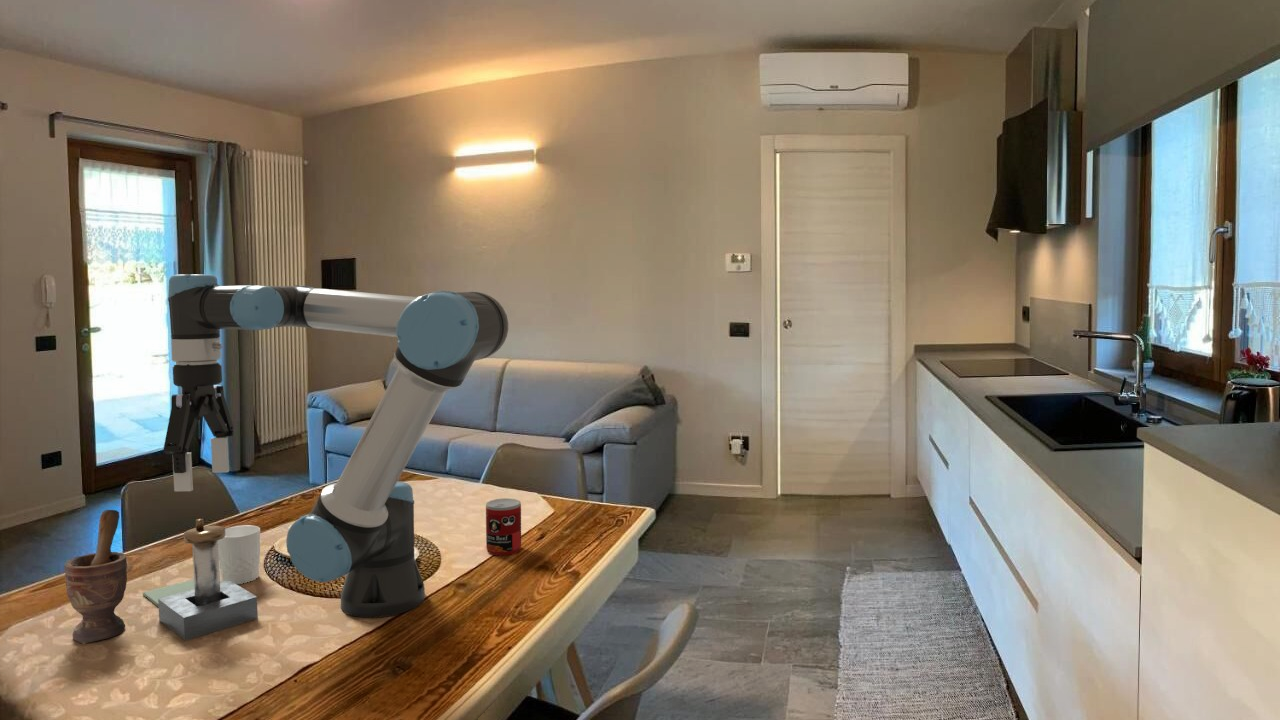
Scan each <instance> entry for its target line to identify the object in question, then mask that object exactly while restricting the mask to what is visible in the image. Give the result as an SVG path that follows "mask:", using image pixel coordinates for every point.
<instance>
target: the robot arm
mask: <svg viewBox="0 0 1280 720" xmlns="http://www.w3.org/2000/svg"><path fill="white" fill-rule="evenodd" d="M168 280H169V281H168V293H167V294H168V296H167V302H168V309H169V311H168V312H169V321H170V323H169V324H170V345H171V346H170V348H171V361H172V362H175V364H173V366H172V381H173V382H172V383H173V385H174V386H176V387H181V388H182V392H181V394H176V393H175V394H172V395H171V398H170V399H171V403H170V405H171V406H170V407H171V409H170V414H169V419H168V423H167V428H166V430H167V431H166V434H165V438H164V445H163V451H164V453H165V455H172V473H173V491H174V492H192V491H194V483H193V480H194V478H193V461H192V451H191V452H189V449H190V446H191V443H192V440H193V436H194V434H195V431H196V427H197V424H198V421H200V420H201V419H202V418H203V419H204V421H205V423H206V425H207V427H208V428H209V430H210V432H211V434H212V436H213V437H211V438H210V450H211V452H210V453H211V469H212V473H216V474H218V473H222V474H223V473H230V463H229V462H230V461H229V459H230V458H229V437H234V425H233V421H232V417H231V415H230V411H229V408H228V405H227V401H226V398H225V390H224V385H222V384H221V383H222V382H223V370H222V364H221V362H218V361H219V360H221V356H222V354H221V349H222V348H223V344H222V343H221V330H248V331H252V332H253V331H254V332H255V331H264V330H270V329H271V330H272V329H273V328H280V327H281V328H285V327H296V328H306V329H318V330H328V331H336V332H337V331H339V332H346V333H356V334H366V335H375V336H384V337H393V338H397V339H398V340H397V348H396V349H395V351H394V359H395V362H396V364H397V369H396V370H395V372H394V374H393V376H392V378H391V380H390V382H389V383H388V386H387V388H386V389H385V391H384V393H383V395H382V397H381V399H380V400H379V402H378V405H377V407H376V408H375V410H374V411H373V414H372V416H371V418H370V420H369V421H368V424H367V425H366V427H365V429H364V431H363V433H362V435H361V437H360V438H359V440H358V443H357V445H356V446H355V449H353V452H352V453H351V456H350V457H349V459H348V461H347V463H346V465H345V466H344V469H343V471H342V472H341V473H340V474H341V475H340V476H339V478H338V480H337V482H334V483H331V484H328V485H326V486H325V487H324V488H323V489H322V490H321V491H320V494H319V496H318V498H317V499H316V501H315V503H314V505H313V507H312V509H311V510H310V512H309V513H308V514H305V515H302V516H300V517H299V518H298V519H296V521H294V522H293V523H292V524H291V526H290V527H289V529H288V531H287V535H286V550H287V553H288V555H289V558H290V561H291V563H292V564H293V566H294V567H295V569H296V570H297V571H298V572H299V573H301V574H302V576H304V577H306V578H307V579H309V580H311V581H313V582H314V581H315V582H318V583H328V582H332V581H334V580H337V579H340V578H343V577H344V576H345V580H344V582H343V586H342V589H341V592H340V608H341V610H342V611H343V612H344V613H345V614H347V615H349V616H353V617H360V618H385V617H389V616H394V615H395V616H396V615H399V614H403V613H406V612H409V611H411V610H413V609H415V608H417V607H419V606H420V605H421V604H422V603H423V602H424V600H425V597H426V596H425V593H426V592H425V591H426V590H425V588H426V587H425V583H424V581H423V577H422V575H421V573H420V570H419V567H418V565H417V562H416V559H415V509H414V507H415V506H414V505H415V500H414V493H413V487H412V486H411V484H409V483H407V482H405V481H399V479H400V477H401V475H402V474H403V472H404V470H405V468H406V466H407V464H408V463H409V461H410V460H411V457H412V455H413V453H414V451H415V450H416V447H417V446H418V444H419V442H420V441H421V439H422V437H423V436H424V434H425V431H426V430H427V428H428V426H429V424H430V422H431V420H432V419H433V417H434V415H435V413H436V411H437V410H438V408H439V406H440V404H441V402H442V400H443V399H444V397H445V395H446V393H447V391H451V390H455V389H458V388H460V387H461V385H463V382H464V381H465V379H466V377H467V375H468V373H469V371H470V370H471V368H472V366H473V364H474V362H475V361H479V360H483V359H487V358H489V357H491V356H492V355H494V354H496V353H497V352H498V351H499V350H500V349H501V348H502V346H503V345H504V343H505V341H506V339H507V336H508V333H509V320H508V319H509V318H508V315H507V312H506V311H505V309H504V307H503V306H502V305H501V304H500V302H499V301H498V300H497V299H495V298H494V297H492V296H491V295H488V294H486V293H482V292H479V291H478V292H477V291H465V292H463V291H461V292H460V291H459V292H455V291H447V290H438V291H435V292H434V291H433V292H431V293H427V294H423V295H420V296H411V295H409V296H407V295H398V294H386V293H385V294H384V293H378V292H377V293H374V292H364V291H363V292H361V291H352V290H351V291H350V290H343V289H342V290H341V289H331V288H330V289H329V288H315V287H312V286H308V285H284V286H283V285H282V286H281V285H280V286H278V285H277V286H276V285H259V284H257V285H255V284H251V285H250V284H248V285H219V284H218V278H217V277H216V276H215V275H214V274H181V273H180V274H173V275H171V276H170V278H169V279H168ZM219 384H221V385H219Z"/></svg>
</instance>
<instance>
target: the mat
mask: <svg viewBox="0 0 1280 720" xmlns="http://www.w3.org/2000/svg"><path fill="white" fill-rule="evenodd" d="M190 590H194V578H193V579H190V580H185V581H182V582H178V583H174V584H170V585H166V586H162V587H157V588H155V589H149V590H147V591H143V592H142V595H144V598H146V597H147V598H148V600H149V601H150V602H151V603H153V604H154V605H155V606H156V607H158V608H159V605H158V599H160V598H163V597H167V596H171V595H175V594H178V593H182V592H186V591H190ZM147 598H146V599H147Z"/></svg>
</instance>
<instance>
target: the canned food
mask: <svg viewBox="0 0 1280 720" xmlns="http://www.w3.org/2000/svg"><path fill="white" fill-rule="evenodd" d="M521 502H522V501H520V500H519V499H516V498H496V499H492V500H490V501H487V502H486V503H485V530H486V531H485V538H486V539H485V541H486V545H485V546H486V547H485V548H486V550H487V551H486V552H488V553H489V554H491V555H494V556H510V555H513V554H516V553H518V552H519V551H521V548H522V547H521V546H522V504H521Z"/></svg>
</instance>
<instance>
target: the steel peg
mask: <svg viewBox="0 0 1280 720" xmlns="http://www.w3.org/2000/svg"><path fill="white" fill-rule="evenodd" d="M225 528H226V527H224V526H221V525H204V518H197V519H195V527H194V528H191V529H187V530H186V531H185V532H183V539H184V543H187V544H191V546H192V547H191V548H192V566H193V579H194V591H195V606H197V607H198V606H201V605H205V604H208V603H212V602H216V601H219V600H221V596H220V582H221V579H220V576H221V572H220V562H219V550H218V540H220V539H222V538H224V537H225Z"/></svg>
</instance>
